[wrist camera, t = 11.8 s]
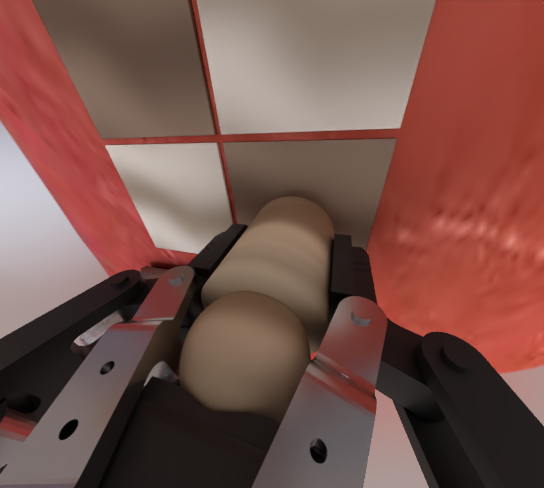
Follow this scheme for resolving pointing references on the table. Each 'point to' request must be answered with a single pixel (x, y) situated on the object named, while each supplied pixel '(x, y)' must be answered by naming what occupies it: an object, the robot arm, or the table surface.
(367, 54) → the game mat
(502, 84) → the table surface
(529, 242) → the table surface
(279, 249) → the pawn
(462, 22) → the table surface
